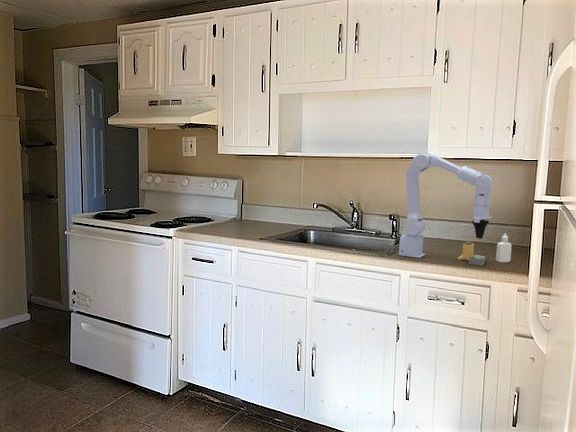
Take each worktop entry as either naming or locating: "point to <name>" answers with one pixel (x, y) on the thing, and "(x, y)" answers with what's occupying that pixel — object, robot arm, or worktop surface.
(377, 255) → the worktop surface
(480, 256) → the button
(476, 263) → the button housing
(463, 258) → the compartment tray
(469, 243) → the block
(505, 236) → the eye dropper bottle
